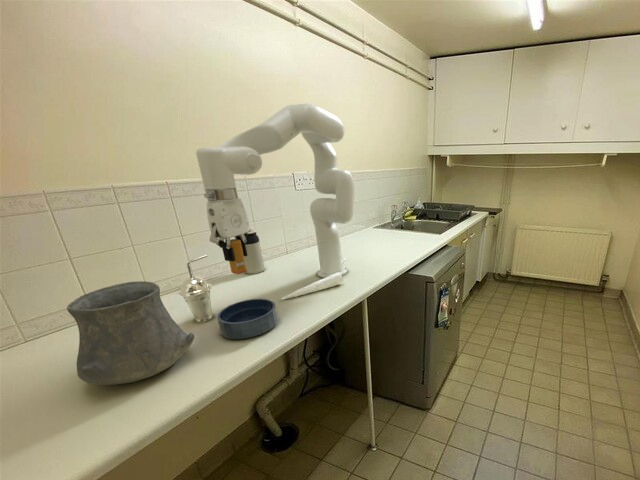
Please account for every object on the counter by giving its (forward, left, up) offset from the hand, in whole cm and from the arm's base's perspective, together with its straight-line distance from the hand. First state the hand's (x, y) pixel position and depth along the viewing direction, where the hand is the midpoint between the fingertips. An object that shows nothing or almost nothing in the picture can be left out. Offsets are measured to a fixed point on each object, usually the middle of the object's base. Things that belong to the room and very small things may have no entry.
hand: (236, 257), depth 92 cm
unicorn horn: (-21, +11, -20) cm, 31 cm away
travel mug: (-35, -27, -20) cm, 49 cm away
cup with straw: (+5, -13, -20) cm, 24 cm away
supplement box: (0, 0, -5) cm, 5 cm away
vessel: (+28, -6, -20) cm, 34 cm away
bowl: (+6, +5, -20) cm, 21 cm away
